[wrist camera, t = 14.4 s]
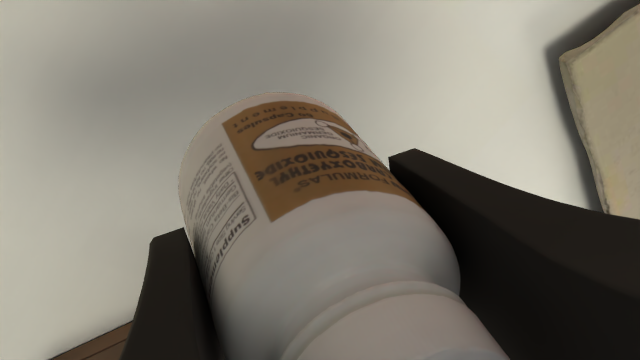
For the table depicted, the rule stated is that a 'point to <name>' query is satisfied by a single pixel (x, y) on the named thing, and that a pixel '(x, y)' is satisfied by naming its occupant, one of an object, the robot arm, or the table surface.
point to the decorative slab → (609, 110)
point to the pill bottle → (317, 243)
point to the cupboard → (100, 347)
